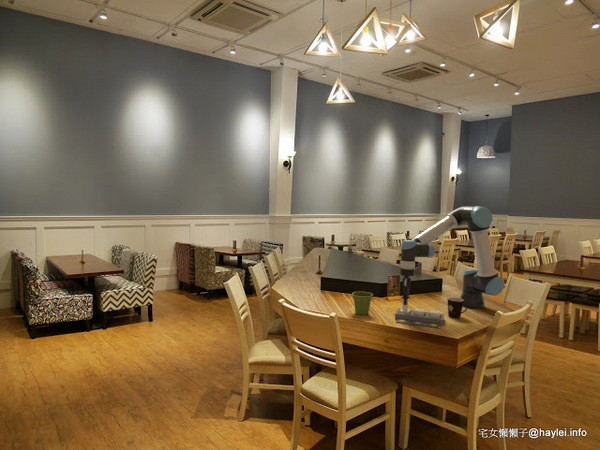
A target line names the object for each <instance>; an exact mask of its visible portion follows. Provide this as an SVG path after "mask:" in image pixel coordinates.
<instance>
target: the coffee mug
mask: <svg viewBox="0 0 600 450" xmlns="http://www.w3.org/2000/svg"><path fill="white" fill-rule="evenodd" d="M446 299H447V314H448V317H449V318H452V319H461V317H462V314H464V313H465V312H466V311H467V310H468V308H467V306H466V305H465V304H463V301H464V300H463V299H460V297H447V298H446ZM463 305H465V306H466V307H465V310H463Z"/></svg>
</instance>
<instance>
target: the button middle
mask: <svg viewBox="0 0 600 450" xmlns="http://www.w3.org/2000/svg"><path fill="white" fill-rule="evenodd" d="M414 310H415V315H421V316H424V315H425V312H426V309H422V308H415V309H414Z"/></svg>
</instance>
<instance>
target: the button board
mask: <svg viewBox="0 0 600 450" xmlns="http://www.w3.org/2000/svg"><path fill="white" fill-rule="evenodd" d="M401 309H402V308H399V307H398V308H397V310H396V312H395V314H394V319H395V320H397V319H404V320H411V321H419V322H426V323H433V324H440V326H443V325H444V320H445V314H444V313H440V318H437V317H430V311H425V315H424V316H421V315H415V309H409V310H410V314H406V313H400V310H401Z"/></svg>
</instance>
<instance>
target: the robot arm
mask: <svg viewBox="0 0 600 450" xmlns="http://www.w3.org/2000/svg"><path fill="white" fill-rule="evenodd" d="M492 222H493V214H492V212H491V210H490V209H489V208H487V207H485V206H480V205H478V206H477V205H463V206H460V207H458V208H455V209H454V210H452V211H450V212H449V213H447V214H446V215H445V217H444V218H443V219H441V220H440V221H438V222H437V223H435V224H434V225H432V226H430V227H429V228H427V229H426V230H424V231H422V232H421V233H420V234H418V235H416V236H415V237H414V238H412V239H403V240H402V242H401V248H400V249H401V250H400V251H401V252H400V261H399V264H400V268H399V269H400V272H399V275H400V276H403V278H402V297H401V299H402V308H401V309H402V310H406V311H407V310H409V299H410V295H409V294H410V286H411V279H412V278H411V277H413V276H415V265H416V258H432V257H434V256H435V255H436V247H435V245H434V243H431V242H434V241H435V240H436V239H438V238H440V237H441V236H442V235H444V234H446V233H447V232H448V231H450V230H452V229H456V228H458V227H461V226H467V229H468V230H467V231H468V232H469V233H471V236H472V242H473V247H474V252H475V257H476V263H477V267H478V268H476V269H475V268H474V269H473V268H472V269H471V268H470V269H468V268H467V269H464V271H463V276H462V293H461V294H460V297H459V298H460V299H463V300H464V301H463V304H465V305H466V306H467V309H473V310H474V309H475V310H476V309H478V310H480V309H484V308H485V305H486V304H485V303H486V302H485V301H484V296H483V294H485V295H487V296H493V297H496V296H498V295H501V293H502V292H503V291H504V288H505V281H504V278H502V277H500V276H499V271H498V270H497V269H496V268H495V266H494V260H493V258H494V257H493V254H492V248H491V242H490V237H489V231H488V230H489V229H490V228H491V226H490V225H492ZM465 305H463V306H462V308H466V306H465Z"/></svg>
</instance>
